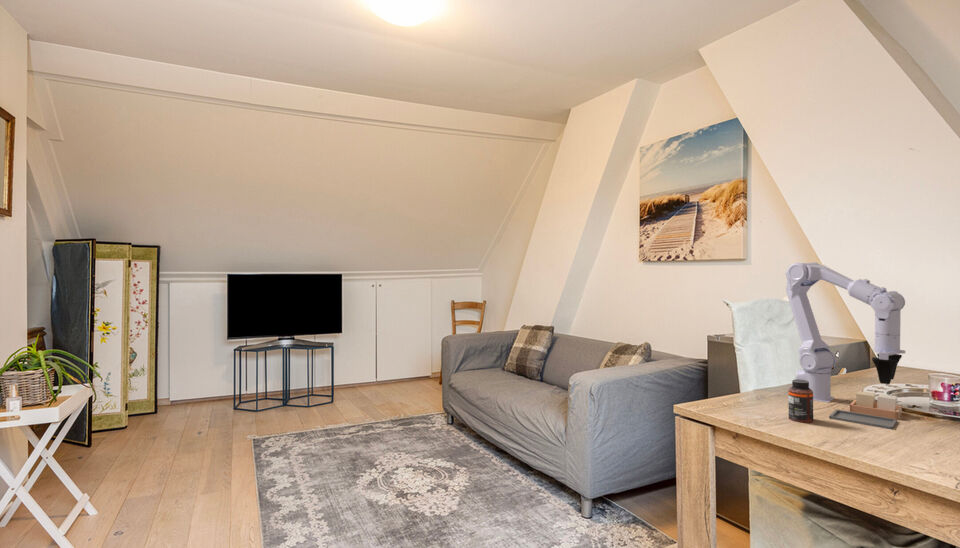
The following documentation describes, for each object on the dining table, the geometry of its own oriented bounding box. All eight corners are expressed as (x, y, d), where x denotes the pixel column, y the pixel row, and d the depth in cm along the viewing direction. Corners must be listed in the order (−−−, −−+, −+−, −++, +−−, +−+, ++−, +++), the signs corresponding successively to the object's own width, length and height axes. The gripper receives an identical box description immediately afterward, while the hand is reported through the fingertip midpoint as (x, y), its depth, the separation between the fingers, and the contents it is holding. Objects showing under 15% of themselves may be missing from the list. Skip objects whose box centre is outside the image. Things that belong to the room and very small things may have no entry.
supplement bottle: (810, 418, 147) (810, 379, 147) (816, 425, 141) (816, 384, 141) (786, 417, 149) (786, 377, 149) (791, 423, 143) (791, 382, 143)
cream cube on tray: (877, 413, 149) (877, 396, 149) (879, 410, 152) (879, 393, 152) (894, 416, 146) (895, 399, 146) (896, 413, 149) (897, 396, 149)
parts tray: (829, 419, 146) (829, 416, 146) (835, 412, 152) (836, 409, 152) (892, 430, 136) (892, 427, 136) (896, 422, 143) (896, 419, 142)
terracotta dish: (849, 413, 152) (849, 404, 152) (855, 406, 158) (855, 398, 158) (897, 421, 144) (897, 412, 144) (901, 414, 150) (901, 405, 150)
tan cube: (856, 410, 153) (856, 393, 152) (858, 407, 155) (858, 391, 155) (873, 413, 150) (873, 396, 150) (875, 410, 153) (875, 393, 152)
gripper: (902, 338, 141) (901, 388, 141) (908, 332, 151) (907, 378, 151) (870, 335, 146) (869, 384, 146) (878, 330, 156) (877, 375, 156)
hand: (886, 381), depth 149 cm, fingers open, 7 cm apart
